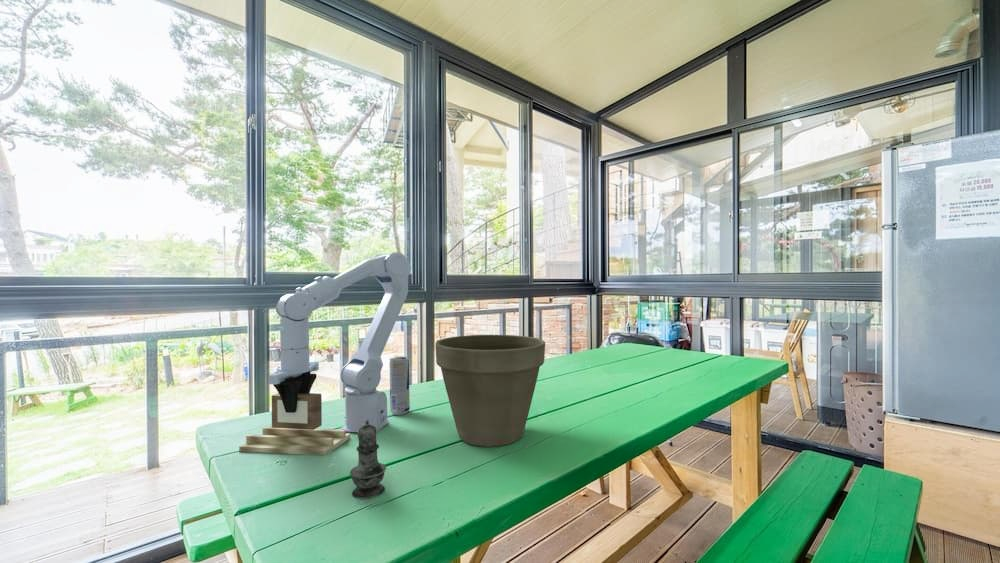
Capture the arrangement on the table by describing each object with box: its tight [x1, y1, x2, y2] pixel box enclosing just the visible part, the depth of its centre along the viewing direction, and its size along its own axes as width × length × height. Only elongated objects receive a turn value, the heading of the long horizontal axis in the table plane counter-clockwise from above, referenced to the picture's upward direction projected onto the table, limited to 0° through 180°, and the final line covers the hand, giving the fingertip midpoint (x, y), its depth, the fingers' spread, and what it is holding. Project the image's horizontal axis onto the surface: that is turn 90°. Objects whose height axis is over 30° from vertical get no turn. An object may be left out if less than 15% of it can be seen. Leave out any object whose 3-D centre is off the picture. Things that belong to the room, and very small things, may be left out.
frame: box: [271, 392, 323, 430], centre depth 93 cm, size 10×3×7 cm, turn 80°
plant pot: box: [435, 334, 546, 448], centre depth 96 cm, size 25×25×22 cm
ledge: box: [238, 426, 351, 456], centre depth 93 cm, size 20×10×2 cm, turn 80°
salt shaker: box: [349, 420, 387, 500], centre depth 71 cm, size 6×6×12 cm
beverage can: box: [389, 356, 411, 416], centre depth 115 cm, size 5×5×15 cm
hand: (296, 409), depth 93 cm, fingers closed on frame, 3 cm apart
